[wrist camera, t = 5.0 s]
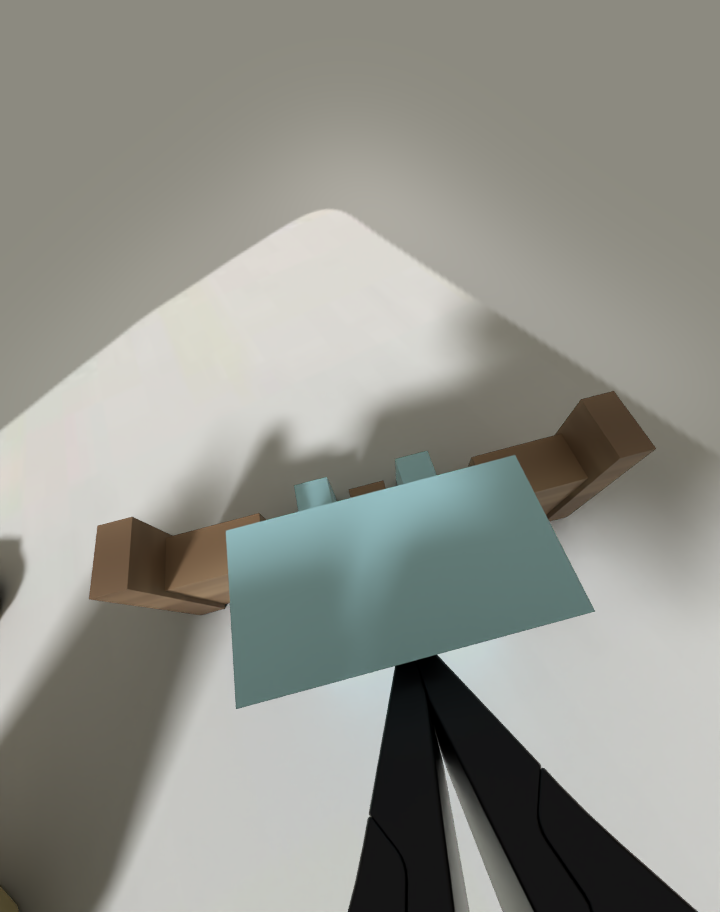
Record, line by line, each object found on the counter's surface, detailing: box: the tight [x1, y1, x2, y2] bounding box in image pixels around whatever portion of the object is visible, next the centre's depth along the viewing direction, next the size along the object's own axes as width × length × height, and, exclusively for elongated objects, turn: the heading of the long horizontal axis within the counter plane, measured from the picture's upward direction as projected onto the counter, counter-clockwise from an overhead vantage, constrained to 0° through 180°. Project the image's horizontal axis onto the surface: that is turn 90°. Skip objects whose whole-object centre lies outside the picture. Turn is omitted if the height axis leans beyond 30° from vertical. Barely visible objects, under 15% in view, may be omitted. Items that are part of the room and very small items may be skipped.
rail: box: [89, 391, 656, 615], centre depth 15 cm, size 2×18×7 cm, turn 104°
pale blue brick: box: [226, 451, 595, 709], centre depth 14 cm, size 8×8×9 cm
